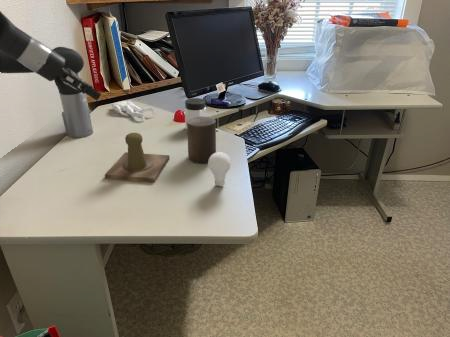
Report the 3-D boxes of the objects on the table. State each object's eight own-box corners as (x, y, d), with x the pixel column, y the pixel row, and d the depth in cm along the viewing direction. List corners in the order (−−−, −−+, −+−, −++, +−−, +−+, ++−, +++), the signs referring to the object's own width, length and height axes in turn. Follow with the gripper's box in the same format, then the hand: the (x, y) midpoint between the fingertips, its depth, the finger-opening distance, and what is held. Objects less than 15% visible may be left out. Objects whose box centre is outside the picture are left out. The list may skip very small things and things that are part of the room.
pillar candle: (210, 165, 115) (210, 123, 108) (183, 161, 117) (181, 120, 110) (219, 153, 123) (219, 113, 116) (194, 150, 125) (193, 111, 118)
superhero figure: (158, 118, 158) (122, 109, 171) (158, 105, 156) (121, 97, 169) (139, 123, 149) (102, 113, 162) (139, 109, 147) (101, 100, 160)
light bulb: (208, 180, 106) (207, 148, 101) (229, 179, 106) (229, 147, 101) (209, 192, 100) (208, 158, 95) (231, 191, 101) (232, 157, 95)
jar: (209, 130, 142) (208, 102, 136) (190, 134, 139) (189, 105, 133) (201, 123, 149) (200, 96, 143) (183, 126, 146) (181, 99, 140)
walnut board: (105, 178, 107) (104, 173, 106) (125, 156, 121) (125, 151, 120) (154, 182, 105) (154, 177, 104) (169, 159, 119) (169, 154, 118)
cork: (142, 170, 108) (138, 138, 103) (124, 169, 109) (119, 137, 104) (149, 162, 113) (146, 131, 108) (132, 160, 114) (128, 129, 109)
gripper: (30, 66, 96) (83, 98, 106) (36, 76, 85) (94, 110, 96) (45, 44, 95) (96, 78, 106) (53, 51, 85) (109, 88, 95)
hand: (95, 93), depth 101 cm, fingers open, 8 cm apart
